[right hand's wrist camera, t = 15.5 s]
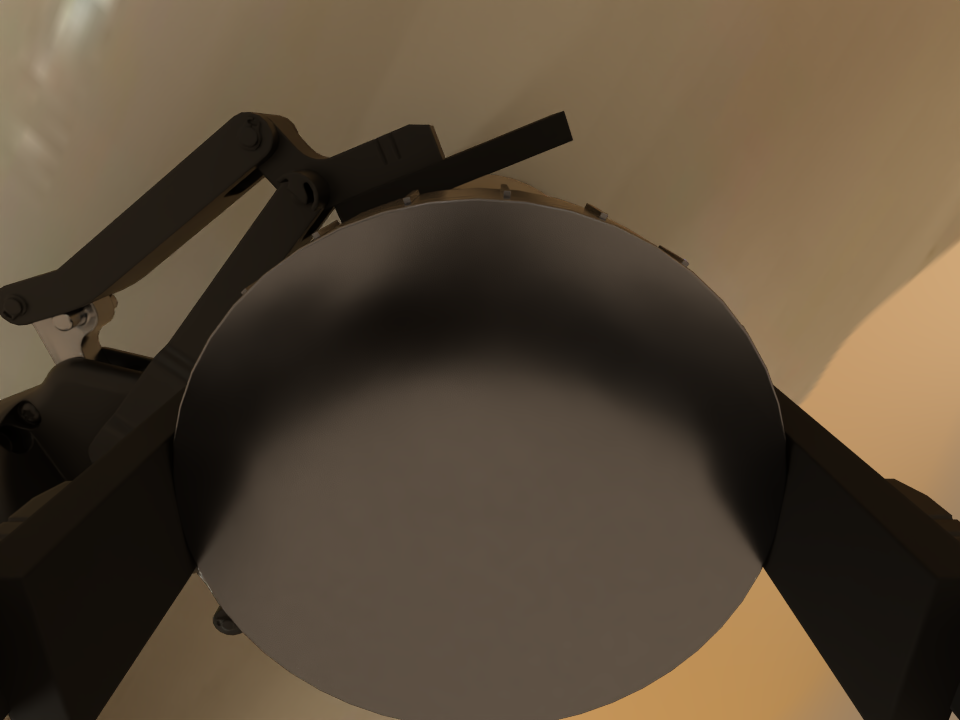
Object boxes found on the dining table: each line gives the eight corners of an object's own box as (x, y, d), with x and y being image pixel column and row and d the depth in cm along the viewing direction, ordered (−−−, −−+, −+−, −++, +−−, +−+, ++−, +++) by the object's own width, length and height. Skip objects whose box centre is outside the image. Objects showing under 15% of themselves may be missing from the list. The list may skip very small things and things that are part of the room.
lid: (125, 499, 12) (64, 561, 11) (418, 45, 10) (403, 22, 8) (519, 719, 15) (526, 802, 13) (856, 408, 12) (925, 457, 10)
